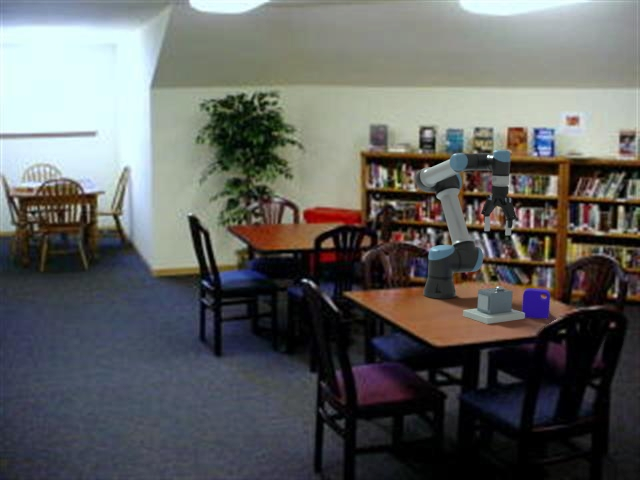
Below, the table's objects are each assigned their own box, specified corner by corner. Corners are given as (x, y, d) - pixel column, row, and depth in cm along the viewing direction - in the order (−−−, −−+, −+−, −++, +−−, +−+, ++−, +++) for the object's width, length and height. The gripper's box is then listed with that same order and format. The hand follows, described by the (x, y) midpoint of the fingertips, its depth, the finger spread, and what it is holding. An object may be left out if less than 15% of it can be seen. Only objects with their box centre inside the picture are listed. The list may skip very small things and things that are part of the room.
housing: (476, 310, 360) (477, 287, 358) (498, 307, 366) (499, 284, 365) (488, 314, 353) (490, 290, 351) (511, 311, 359) (512, 288, 358)
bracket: (548, 319, 359) (549, 292, 358) (521, 316, 363) (523, 289, 361) (550, 310, 376) (552, 284, 375) (525, 308, 380) (526, 282, 378)
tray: (462, 315, 361) (463, 309, 361) (500, 311, 372) (500, 305, 371) (486, 323, 348) (487, 317, 348) (524, 318, 359) (525, 312, 359)
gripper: (474, 183, 384) (472, 229, 387) (513, 188, 363) (510, 237, 366) (487, 182, 388) (484, 228, 391) (526, 187, 367) (523, 236, 370)
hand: (497, 233), depth 378 cm, fingers open, 13 cm apart
